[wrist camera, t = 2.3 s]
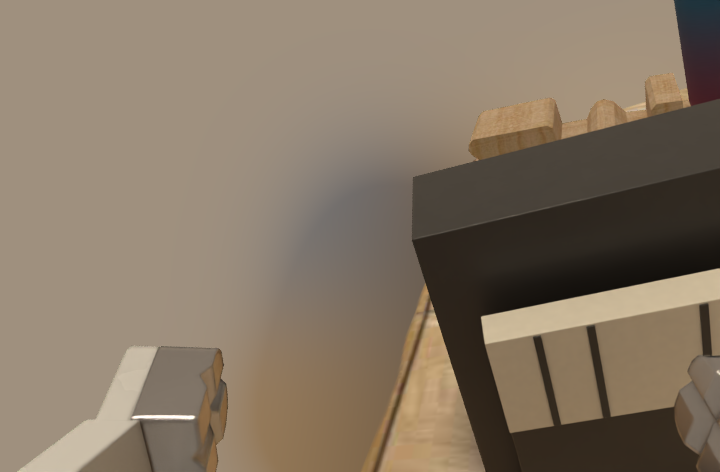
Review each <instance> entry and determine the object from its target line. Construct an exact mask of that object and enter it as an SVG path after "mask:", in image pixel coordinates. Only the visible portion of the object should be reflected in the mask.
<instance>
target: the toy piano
mask: <svg viewBox="0 0 720 472" xmlns="http://www.w3.org/2000/svg"><path fill="white" fill-rule="evenodd" d="M412 211H413V212H412V242H413V245H414V248H415V251H416V254H417V257H418V260H419V264H420V267H421V270H422V273H423V276H424V279H425V282H426V286H427V289H428V292H429V295H430V298H431V301H432V304H433V307H434V311H435V314H436V317H437V320H438V323H439V326H440V329H441V333H442V336H443V339H444V342H445V345H446V348H447V351H448V355H449V358H450V361H451V364H452V367H453V370H454V373H455V376H456V380H457V383H458V386H459V389H460V392H461V395H462V398H463V402H464V405H465V408H466V411H467V414H468V417H469V420H470V424H471V427H472V430H473V433H474V436H475V439H476V442H477V445H478V449H479V452H480V455H481V458H482V461H483V464H484V467H485V471H486V472H698V470H697V468H696V464H697V461H698V457H699V455H698V454H696V453H695V452H694V451H692V450H691V449H690V448H689V447H687V446H686V445H685V444H684V443H683V441H682V439H681V437H680V435H679V433H678V430H677V427H676V423H675V415H674V407H669V408H663V409H656V410H650V411H644V412H638V413H631V414H625V415H619V416H613V417H607V418H600V419H594V420H588V421H582V422H576V423H569V424H563V425H557V426H551V427H544V428H538V429H532V430H526V431H520V432H513V433H510V432H509V428H508V425H507V421H506V418H505V414H504V411H503V407H502V404H501V400H500V396H499V393H498V389H497V386H496V382H495V379H494V375H493V372H492V368H491V365H490V361H489V357H488V354H487V350H486V347H485V342H484V336H483V329H482V322H481V317H482V316H486V315H491V314H496V313H501V312H506V311H511V310H516V309H521V308H526V307H531V306H536V305H541V304H546V303H550V302H555V301H560V300H565V299H570V298H575V297H580V296H585V295H590V294H595V293H600V292H605V291H610V290H615V289H620V288H625V287H630V286H635V285H639V284H644V283H649V282H654V281H659V280H664V279H669V278H674V277H679V276H684V275H689V274H694V273H699V272H704V271H709V270H714V269H719V268H720V99H717V100H713V101H709V102H705V103H701V104H697V105H693V106H689V107H686V108H682V109H678V110H674V111H670V112H666V113H662V114H658V115H654V116H650V117H646V118H643V119H639V120H635V121H631V122H627V123H623V124H619V125H615V126H611V127H607V128H604V129H600V130H596V131H592V132H588V133H584V134H580V135H576V136H572V137H568V138H564V139H561V140H557V141H553V142H549V143H545V144H541V145H537V146H533V147H529V148H525V149H521V150H518V151H514V152H510V153H506V154H502V155H498V156H494V157H490V158H486V159H482V160H478V161H475V162H471V163H467V164H463V165H459V166H455V167H451V168H447V169H443V170H439V171H435V172H432V173H428V174H424V175H420V176H416V177H413V209H412Z"/></svg>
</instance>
